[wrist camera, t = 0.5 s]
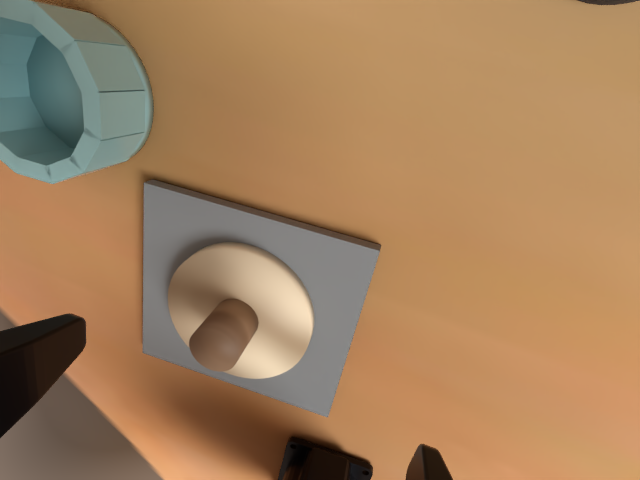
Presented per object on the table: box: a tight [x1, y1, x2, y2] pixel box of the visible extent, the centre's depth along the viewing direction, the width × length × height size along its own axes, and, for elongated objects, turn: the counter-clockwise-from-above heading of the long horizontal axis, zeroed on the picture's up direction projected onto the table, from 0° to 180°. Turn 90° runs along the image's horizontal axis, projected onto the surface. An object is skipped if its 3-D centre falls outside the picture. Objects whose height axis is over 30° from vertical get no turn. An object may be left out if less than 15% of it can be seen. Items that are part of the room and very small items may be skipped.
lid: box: [168, 242, 314, 379], centre depth 22 cm, size 9×9×4 cm
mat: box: [143, 179, 381, 417], centre depth 24 cm, size 13×14×1 cm
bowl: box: [0, 0, 154, 184], centre depth 19 cm, size 8×8×4 cm
